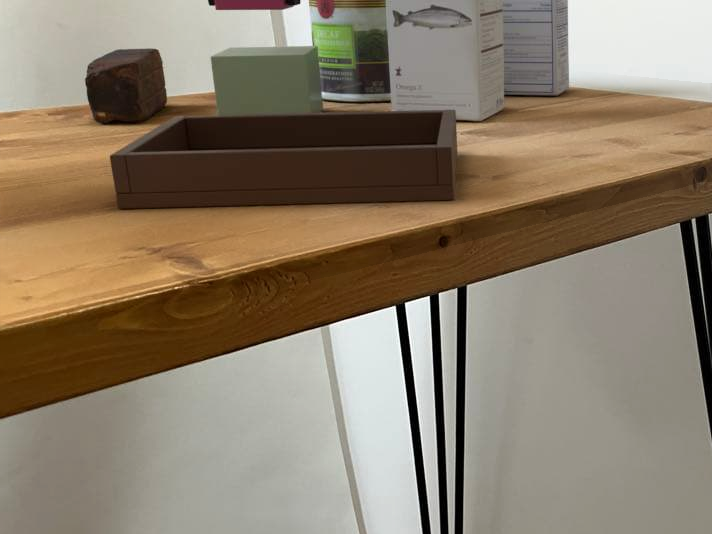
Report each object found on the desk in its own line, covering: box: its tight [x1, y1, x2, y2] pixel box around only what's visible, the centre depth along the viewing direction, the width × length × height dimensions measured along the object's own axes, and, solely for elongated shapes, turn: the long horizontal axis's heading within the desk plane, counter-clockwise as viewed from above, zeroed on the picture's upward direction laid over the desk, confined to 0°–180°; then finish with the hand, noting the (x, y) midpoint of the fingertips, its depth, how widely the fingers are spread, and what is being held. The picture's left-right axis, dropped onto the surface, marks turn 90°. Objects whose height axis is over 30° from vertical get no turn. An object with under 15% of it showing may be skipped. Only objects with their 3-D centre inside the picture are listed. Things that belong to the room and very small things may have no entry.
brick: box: [84, 48, 168, 124], centre depth 89 cm, size 11×4×5 cm, turn 7°
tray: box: [109, 110, 458, 210], centre depth 64 cm, size 18×14×3 cm
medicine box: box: [503, 0, 570, 97], centre depth 97 cm, size 8×4×9 cm, turn 74°
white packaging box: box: [386, 0, 505, 122], centre depth 85 cm, size 7×7×13 cm
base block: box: [210, 45, 324, 115], centre depth 87 cm, size 7×7×5 cm
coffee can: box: [308, 0, 391, 103], centre depth 96 cm, size 10×10×14 cm
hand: (255, 2), depth 84 cm, fingers closed on top block, 5 cm apart
